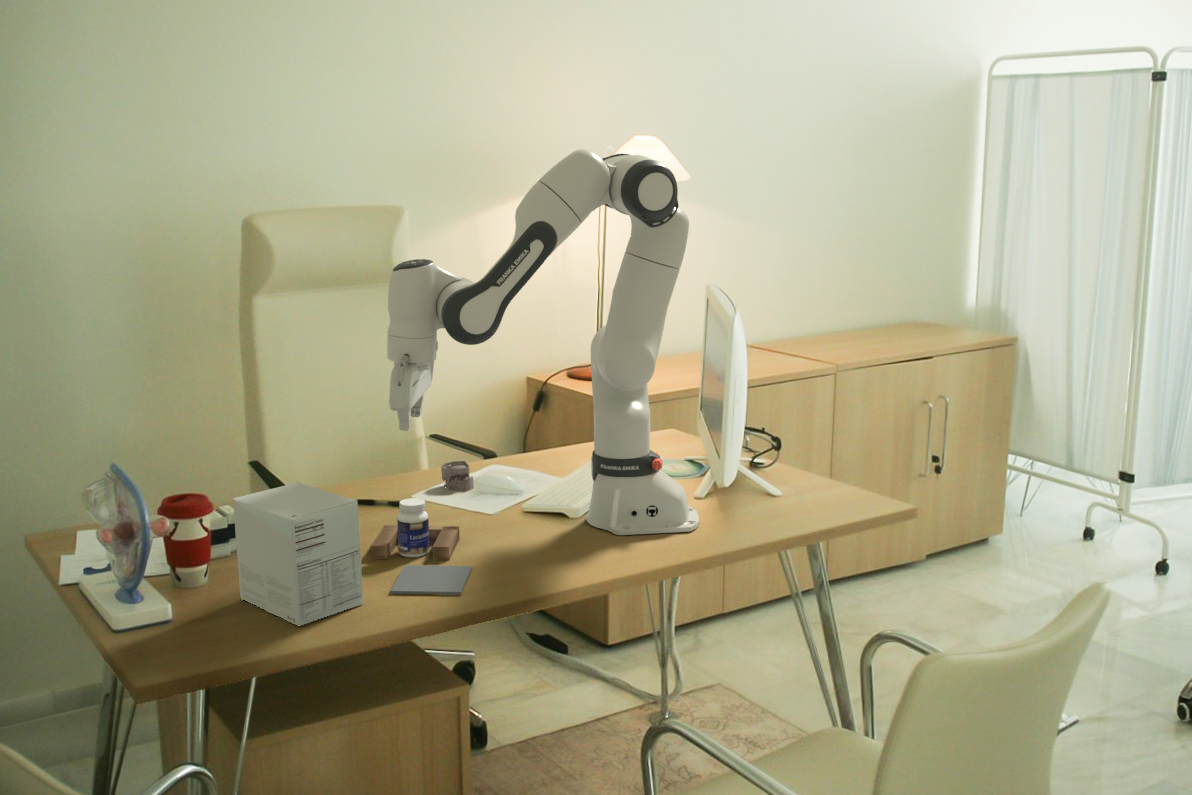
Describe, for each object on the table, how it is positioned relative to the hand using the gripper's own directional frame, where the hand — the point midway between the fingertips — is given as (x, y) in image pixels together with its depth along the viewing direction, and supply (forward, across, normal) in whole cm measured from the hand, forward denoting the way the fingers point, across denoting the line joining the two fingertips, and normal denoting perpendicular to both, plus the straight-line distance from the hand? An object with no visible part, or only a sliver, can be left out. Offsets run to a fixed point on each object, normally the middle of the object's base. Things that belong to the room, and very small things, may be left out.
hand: (410, 422), depth 218 cm
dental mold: (+25, +38, -3) cm, 45 cm away
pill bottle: (+24, -4, -2) cm, 24 cm away
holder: (+24, -2, -2) cm, 24 cm away
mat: (+23, -18, -8) cm, 30 cm away
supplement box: (+24, -29, +12) cm, 39 cm away
